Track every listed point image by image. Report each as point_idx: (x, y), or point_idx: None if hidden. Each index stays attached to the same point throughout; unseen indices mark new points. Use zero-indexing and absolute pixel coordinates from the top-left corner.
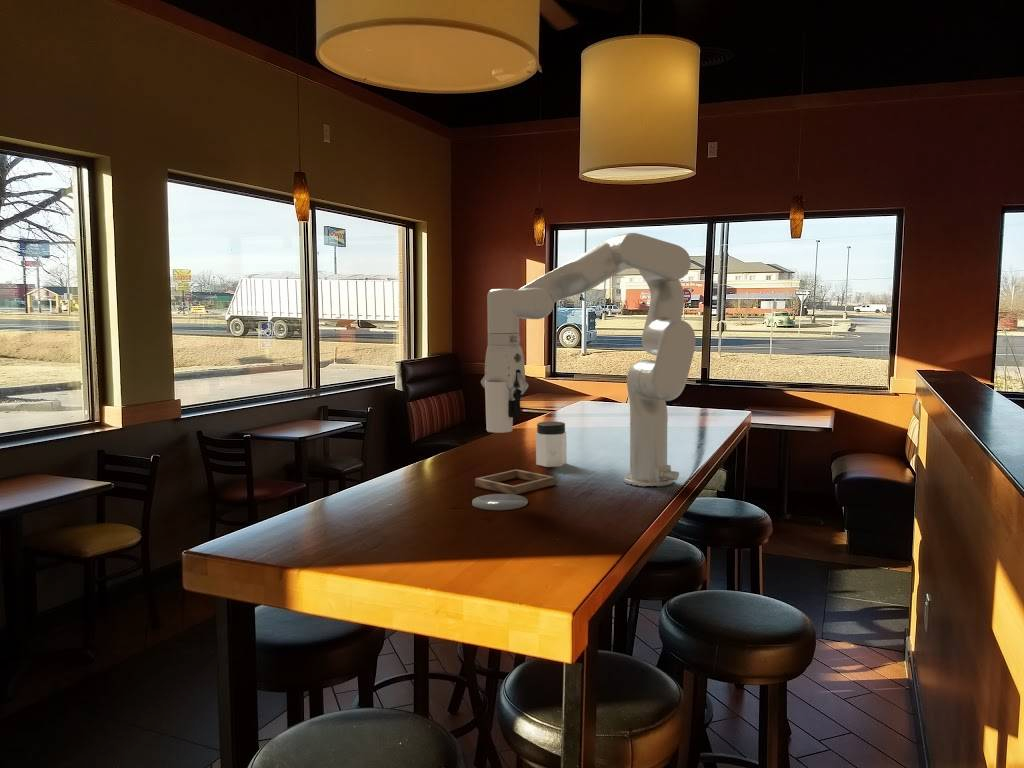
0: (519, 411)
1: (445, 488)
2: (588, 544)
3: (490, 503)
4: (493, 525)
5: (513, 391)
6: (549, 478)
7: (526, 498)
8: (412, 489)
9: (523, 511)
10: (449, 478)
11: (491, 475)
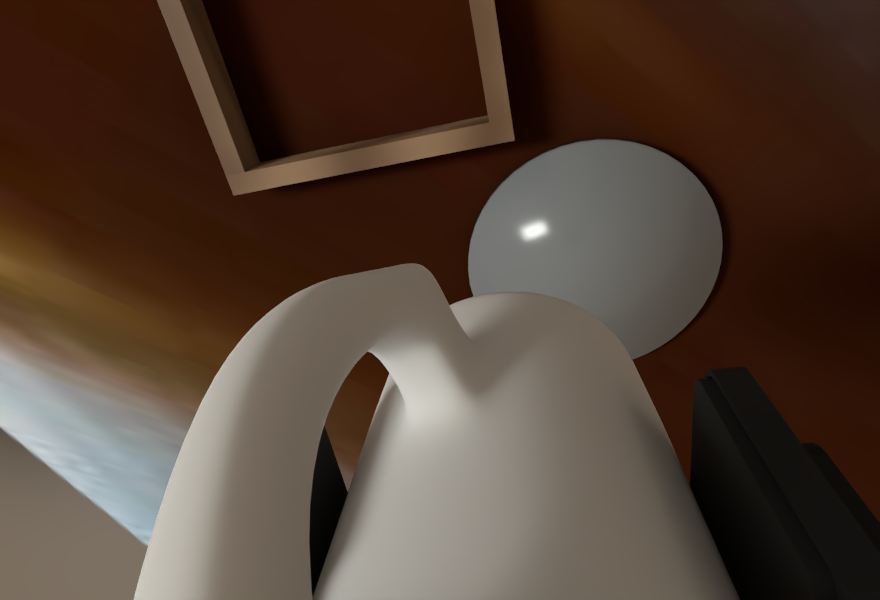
0: (824, 454)
1: (228, 302)
2: None
3: (602, 319)
4: (812, 431)
5: (269, 557)
6: None
7: (651, 148)
8: (190, 396)
9: (770, 258)
10: (41, 196)
11: (198, 80)
